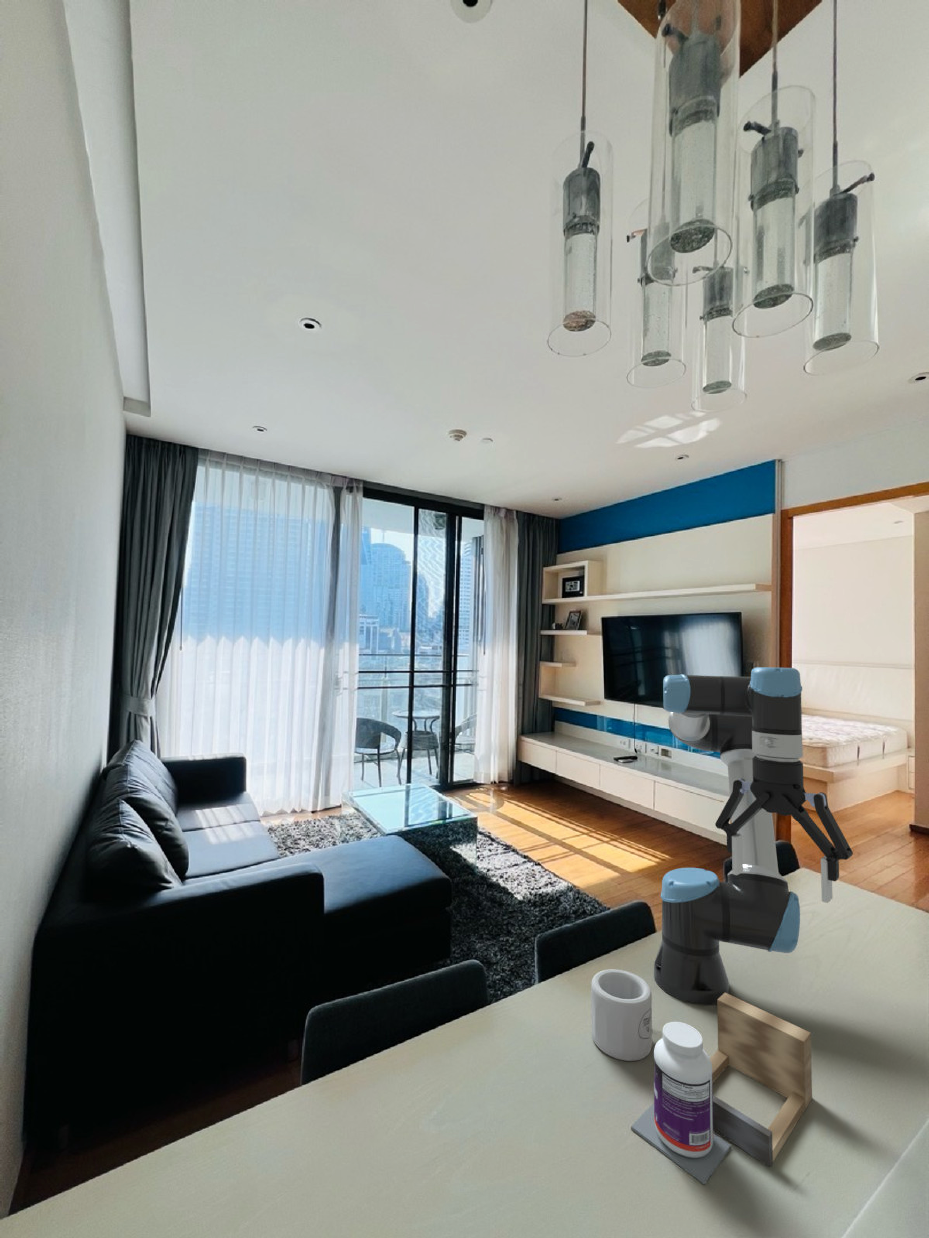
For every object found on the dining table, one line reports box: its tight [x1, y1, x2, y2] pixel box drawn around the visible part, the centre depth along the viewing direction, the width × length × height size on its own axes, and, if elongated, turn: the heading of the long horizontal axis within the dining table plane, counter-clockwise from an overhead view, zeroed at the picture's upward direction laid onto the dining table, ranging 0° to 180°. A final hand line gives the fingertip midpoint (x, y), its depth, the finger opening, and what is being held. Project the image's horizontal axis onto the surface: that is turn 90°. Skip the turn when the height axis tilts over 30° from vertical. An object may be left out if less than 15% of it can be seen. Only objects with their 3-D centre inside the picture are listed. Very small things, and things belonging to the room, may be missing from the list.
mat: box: [630, 1102, 732, 1185], centre depth 78 cm, size 11×8×1 cm
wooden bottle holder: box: [709, 993, 813, 1168], centre depth 86 cm, size 14×18×10 cm
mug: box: [590, 968, 653, 1062], centre depth 100 cm, size 14×11×10 cm
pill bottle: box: [653, 1021, 714, 1158], centre depth 79 cm, size 8×8×14 cm
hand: (780, 885), depth 90 cm, fingers open, 13 cm apart
